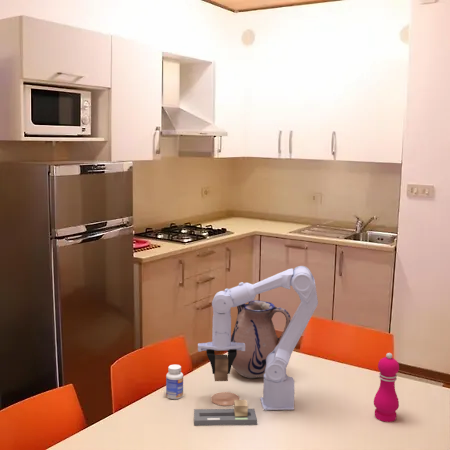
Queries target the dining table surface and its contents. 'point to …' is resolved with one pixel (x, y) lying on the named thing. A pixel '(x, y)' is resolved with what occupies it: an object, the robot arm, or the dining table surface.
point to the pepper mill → (387, 390)
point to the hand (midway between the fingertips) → (221, 372)
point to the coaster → (224, 398)
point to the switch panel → (223, 417)
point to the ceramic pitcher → (255, 336)
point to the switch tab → (240, 408)
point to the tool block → (221, 368)
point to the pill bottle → (174, 382)
